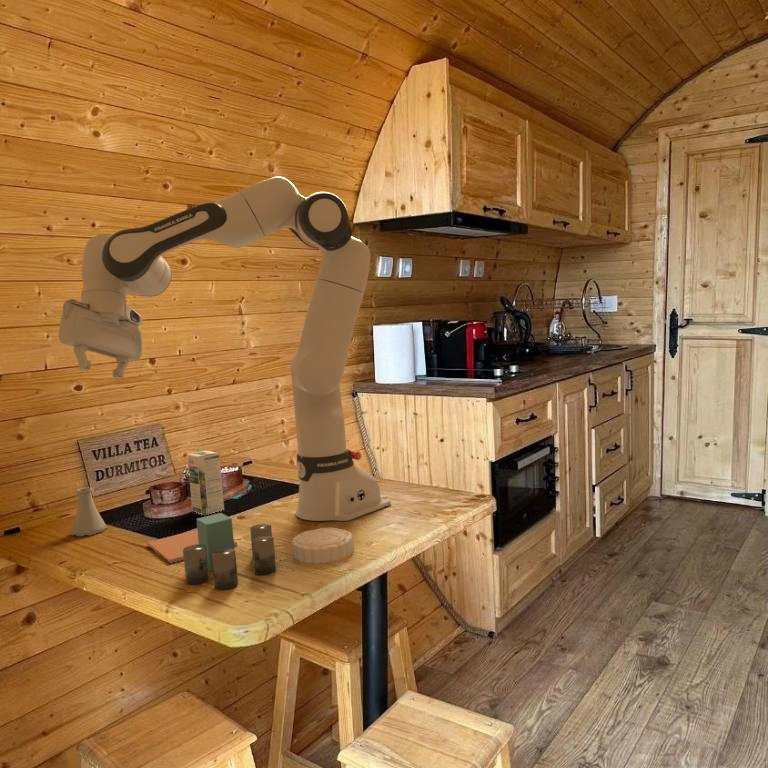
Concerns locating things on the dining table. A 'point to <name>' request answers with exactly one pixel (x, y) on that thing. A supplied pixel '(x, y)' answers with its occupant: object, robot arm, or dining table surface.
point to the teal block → (215, 534)
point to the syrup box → (205, 482)
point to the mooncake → (322, 545)
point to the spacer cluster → (230, 560)
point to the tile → (175, 545)
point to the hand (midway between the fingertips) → (101, 373)
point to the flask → (87, 515)
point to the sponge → (241, 493)
